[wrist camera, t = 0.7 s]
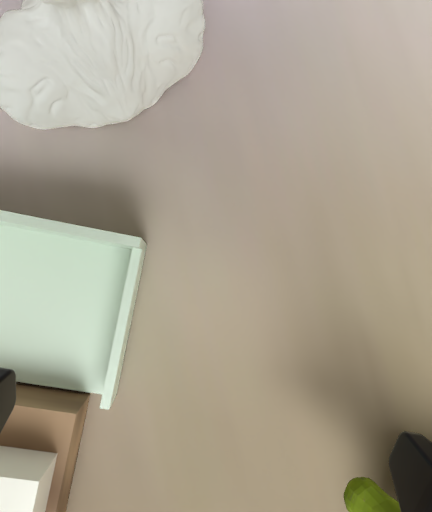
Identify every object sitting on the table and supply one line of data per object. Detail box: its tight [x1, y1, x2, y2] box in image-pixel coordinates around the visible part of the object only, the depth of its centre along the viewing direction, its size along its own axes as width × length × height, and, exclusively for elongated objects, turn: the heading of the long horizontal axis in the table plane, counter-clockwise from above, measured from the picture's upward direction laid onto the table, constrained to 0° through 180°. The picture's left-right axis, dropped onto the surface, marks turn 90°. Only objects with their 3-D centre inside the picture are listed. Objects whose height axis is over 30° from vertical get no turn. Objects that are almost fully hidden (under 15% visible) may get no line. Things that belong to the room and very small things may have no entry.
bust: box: [0, 0, 205, 130], centre depth 18 cm, size 12×8×11 cm
